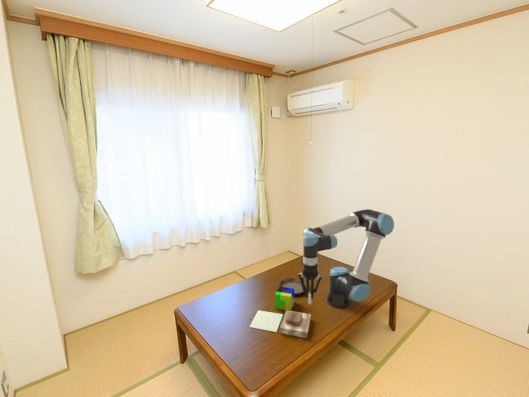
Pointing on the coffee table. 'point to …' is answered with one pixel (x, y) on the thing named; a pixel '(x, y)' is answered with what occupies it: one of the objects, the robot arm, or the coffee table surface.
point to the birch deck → (296, 330)
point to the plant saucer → (292, 285)
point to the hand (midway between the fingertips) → (309, 302)
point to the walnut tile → (294, 318)
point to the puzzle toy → (284, 298)
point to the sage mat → (266, 321)
